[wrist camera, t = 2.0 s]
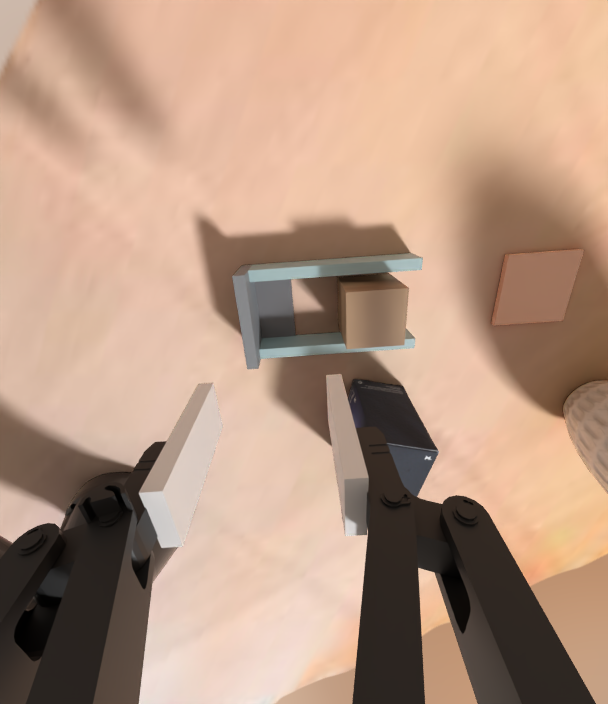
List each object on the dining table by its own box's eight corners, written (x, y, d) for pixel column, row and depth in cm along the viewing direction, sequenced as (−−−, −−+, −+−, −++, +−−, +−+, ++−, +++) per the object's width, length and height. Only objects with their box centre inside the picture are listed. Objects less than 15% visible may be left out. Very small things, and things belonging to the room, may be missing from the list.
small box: (349, 376, 35) (369, 440, 25) (404, 384, 36) (444, 450, 26) (329, 447, 39) (339, 525, 30) (378, 454, 40) (404, 531, 31)
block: (338, 325, 32) (346, 349, 27) (337, 276, 30) (346, 292, 25) (386, 321, 32) (404, 345, 27) (388, 273, 30) (408, 288, 25)
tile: (491, 323, 33) (494, 325, 32) (505, 254, 30) (509, 255, 29) (558, 318, 32) (562, 320, 32) (579, 249, 29) (584, 249, 29)
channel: (254, 346, 33) (247, 369, 29) (242, 265, 29) (232, 276, 25) (404, 336, 33) (421, 357, 28) (411, 252, 29) (431, 261, 25)
